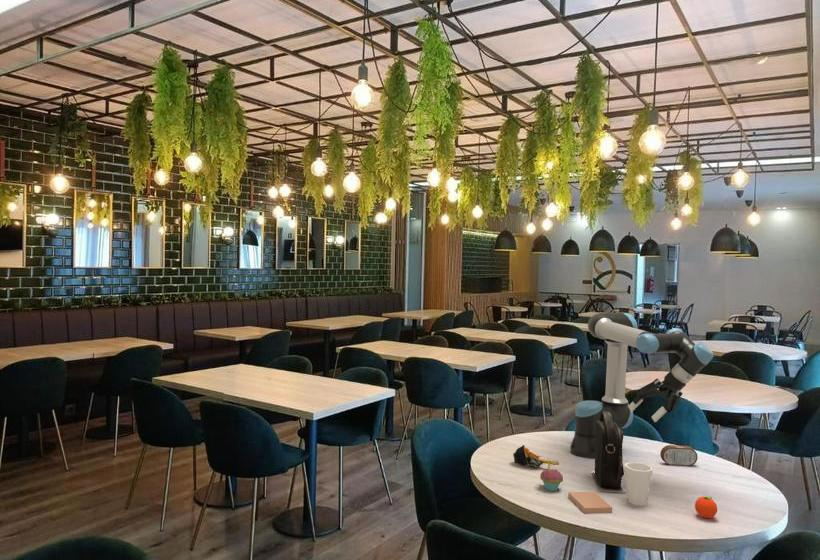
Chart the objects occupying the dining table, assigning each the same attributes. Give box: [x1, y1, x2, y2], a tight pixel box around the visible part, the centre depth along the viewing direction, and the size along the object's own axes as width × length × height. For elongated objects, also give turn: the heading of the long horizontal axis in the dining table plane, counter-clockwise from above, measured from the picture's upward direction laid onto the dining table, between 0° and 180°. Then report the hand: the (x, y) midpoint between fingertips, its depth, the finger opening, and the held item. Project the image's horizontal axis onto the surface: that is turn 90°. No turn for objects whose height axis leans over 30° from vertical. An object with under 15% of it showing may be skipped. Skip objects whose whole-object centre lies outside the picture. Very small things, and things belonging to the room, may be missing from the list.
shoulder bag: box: [590, 411, 625, 494], centre depth 227 cm, size 23×9×28 cm, turn 172°
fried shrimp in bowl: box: [512, 444, 560, 469], centre depth 243 cm, size 9×11×18 cm
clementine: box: [694, 495, 718, 519], centre depth 197 cm, size 8×7×7 cm
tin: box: [659, 444, 699, 467], centre depth 249 cm, size 15×3×8 cm, turn 84°
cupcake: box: [539, 459, 564, 492], centre depth 219 cm, size 9×8×12 cm
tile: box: [567, 491, 613, 514], centre depth 205 cm, size 2×14×10 cm
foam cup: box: [623, 461, 653, 507], centre depth 208 cm, size 10×9×13 cm
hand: (641, 414), depth 230 cm, fingers open, 13 cm apart
